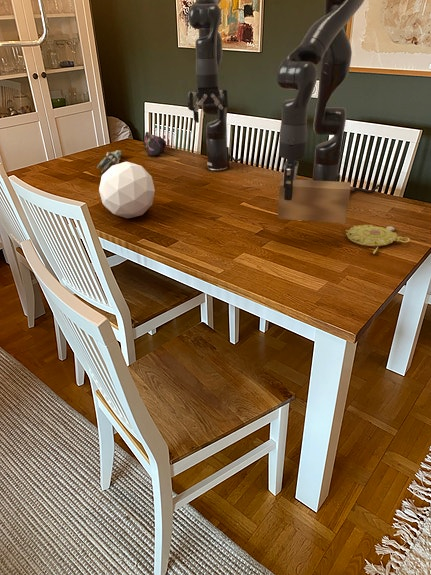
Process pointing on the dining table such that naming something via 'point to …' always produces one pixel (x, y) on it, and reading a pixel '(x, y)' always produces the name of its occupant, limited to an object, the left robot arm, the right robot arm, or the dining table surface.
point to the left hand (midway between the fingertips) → (208, 121)
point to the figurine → (110, 160)
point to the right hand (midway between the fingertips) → (289, 195)
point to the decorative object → (374, 235)
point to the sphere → (127, 190)
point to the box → (315, 201)
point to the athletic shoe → (154, 144)
